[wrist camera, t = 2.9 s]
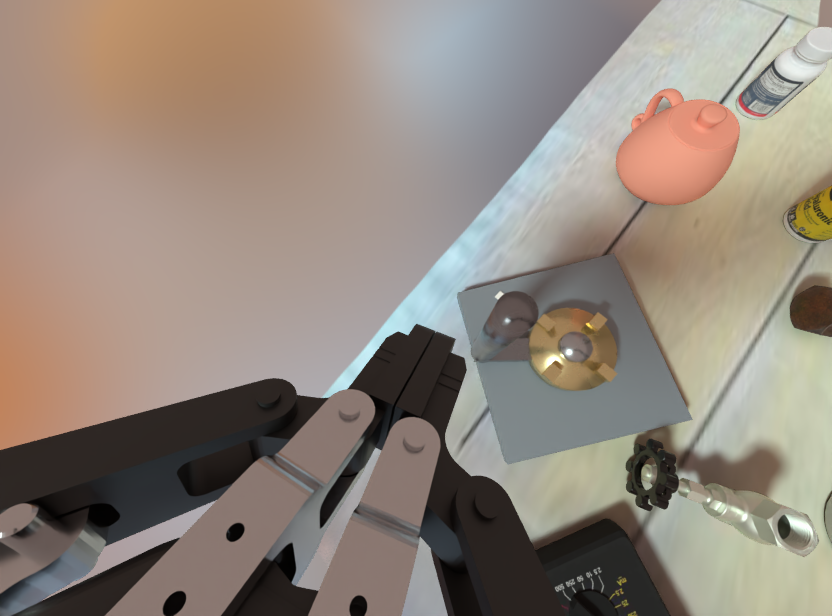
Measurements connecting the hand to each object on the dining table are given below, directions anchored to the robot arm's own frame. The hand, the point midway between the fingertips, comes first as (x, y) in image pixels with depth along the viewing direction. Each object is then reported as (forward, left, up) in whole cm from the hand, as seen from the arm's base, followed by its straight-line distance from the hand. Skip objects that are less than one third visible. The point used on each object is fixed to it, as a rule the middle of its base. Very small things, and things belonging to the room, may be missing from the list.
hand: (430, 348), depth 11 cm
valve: (-22, +17, -28) cm, 40 cm away
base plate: (-15, 0, -28) cm, 31 cm away
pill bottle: (-54, -27, -28) cm, 66 cm away
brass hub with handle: (-12, -1, -25) cm, 28 cm away
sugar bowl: (-36, -21, -28) cm, 50 cm away
